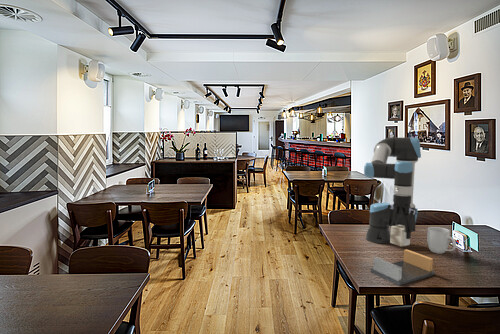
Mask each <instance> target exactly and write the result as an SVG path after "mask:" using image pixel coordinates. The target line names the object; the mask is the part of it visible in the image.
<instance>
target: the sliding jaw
mask: <svg viewBox="0 0 500 334" xmlns="http://www.w3.org/2000/svg"><path fill="white" fill-rule="evenodd" d="M403 260H404V262H407V263H409V264H412V265H414V266H417V267H419V268H422V269H424V270H427V271H429V272H430V271H433V264H434V262H433V261H434V258H432V257H429V256H427V255H424V254H421V253H418V252H415V251H413V250H409V249H404V250H403Z"/></svg>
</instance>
